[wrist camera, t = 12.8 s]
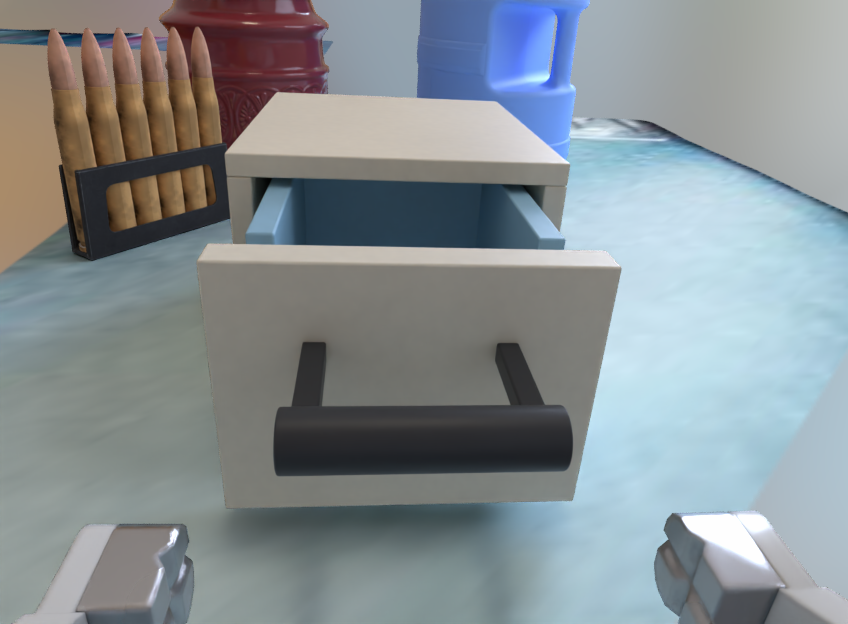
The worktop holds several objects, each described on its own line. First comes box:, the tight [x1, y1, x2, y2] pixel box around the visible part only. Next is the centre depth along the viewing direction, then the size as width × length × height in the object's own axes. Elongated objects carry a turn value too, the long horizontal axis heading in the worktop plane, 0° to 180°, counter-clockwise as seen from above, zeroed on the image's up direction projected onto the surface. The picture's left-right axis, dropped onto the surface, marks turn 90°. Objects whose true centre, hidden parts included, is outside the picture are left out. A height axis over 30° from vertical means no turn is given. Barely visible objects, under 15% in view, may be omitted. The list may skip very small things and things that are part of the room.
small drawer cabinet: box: [225, 92, 570, 244], centre depth 29 cm, size 14×12×10 cm
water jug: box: [417, 0, 590, 159], centre depth 58 cm, size 16×16×28 cm
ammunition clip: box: [48, 27, 230, 260], centre depth 38 cm, size 11×2×12 cm, turn 147°
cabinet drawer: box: [196, 178, 621, 509], centre depth 21 cm, size 17×10×8 cm, turn 5°
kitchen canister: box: [159, 0, 329, 150], centre depth 51 cm, size 13×13×18 cm
